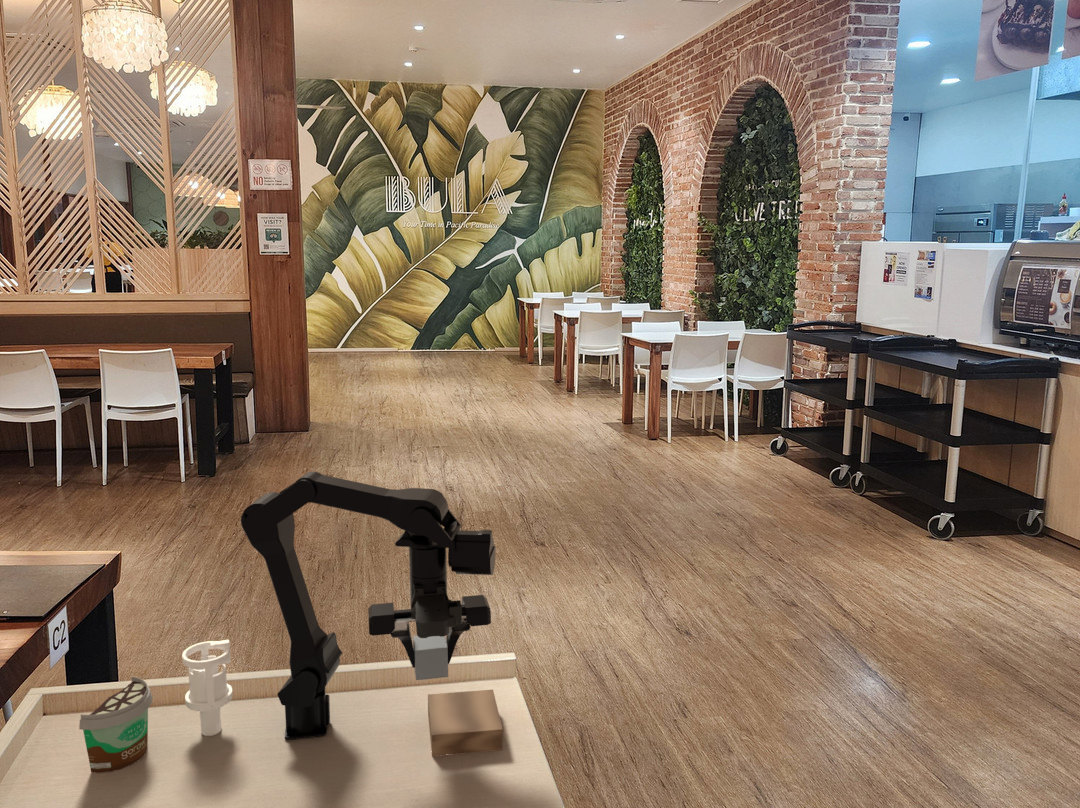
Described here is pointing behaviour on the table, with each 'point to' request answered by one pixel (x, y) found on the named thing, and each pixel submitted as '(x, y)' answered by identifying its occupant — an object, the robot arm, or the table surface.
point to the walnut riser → (464, 722)
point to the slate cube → (430, 657)
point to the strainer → (208, 684)
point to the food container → (118, 728)
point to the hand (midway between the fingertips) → (430, 664)
